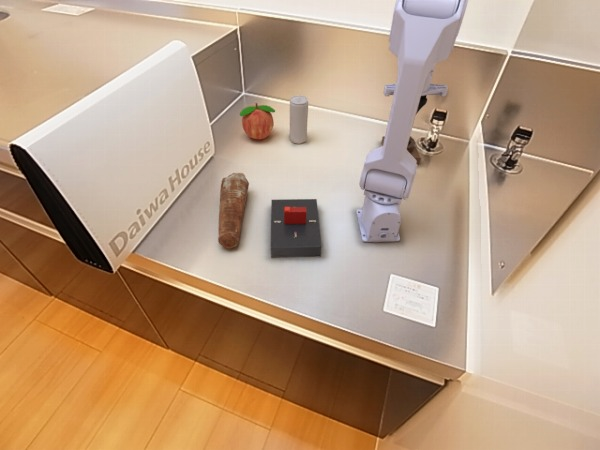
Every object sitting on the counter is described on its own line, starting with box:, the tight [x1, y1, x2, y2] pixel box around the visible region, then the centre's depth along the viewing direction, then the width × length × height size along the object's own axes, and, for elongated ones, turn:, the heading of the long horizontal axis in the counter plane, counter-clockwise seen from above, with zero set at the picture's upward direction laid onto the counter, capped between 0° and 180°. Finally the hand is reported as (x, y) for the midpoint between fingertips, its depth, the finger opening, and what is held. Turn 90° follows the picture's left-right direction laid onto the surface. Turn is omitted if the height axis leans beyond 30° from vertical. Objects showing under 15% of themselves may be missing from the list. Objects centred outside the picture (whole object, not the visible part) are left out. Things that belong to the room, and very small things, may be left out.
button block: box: [380, 135, 422, 166], centre depth 98 cm, size 10×8×4 cm
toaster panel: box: [270, 198, 323, 258], centre depth 78 cm, size 14×10×3 cm
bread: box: [217, 172, 250, 249], centre depth 79 cm, size 6×19×6 cm, turn 0°
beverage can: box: [289, 94, 309, 144], centre depth 99 cm, size 5×5×12 cm
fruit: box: [239, 102, 276, 140], centre depth 101 cm, size 9×10×10 cm
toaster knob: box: [284, 207, 306, 224], centre depth 75 cm, size 4×1×4 cm, turn 92°
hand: (407, 122), depth 93 cm, fingers closed
